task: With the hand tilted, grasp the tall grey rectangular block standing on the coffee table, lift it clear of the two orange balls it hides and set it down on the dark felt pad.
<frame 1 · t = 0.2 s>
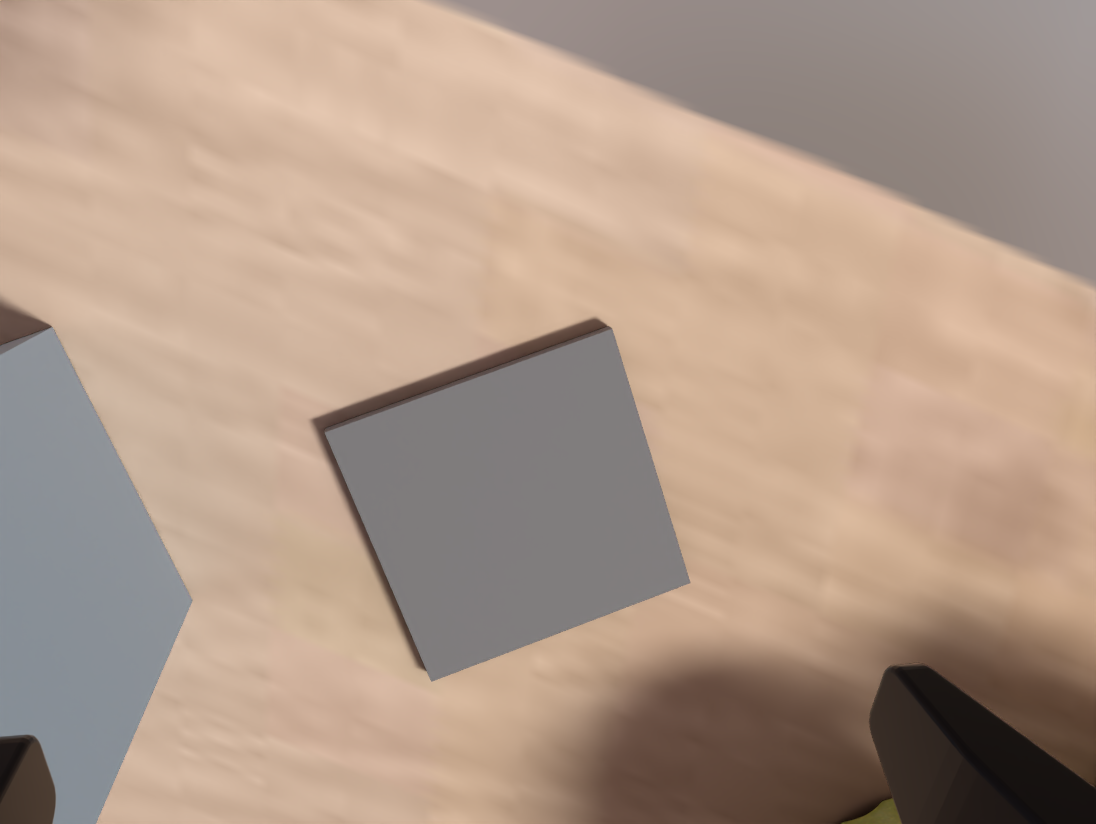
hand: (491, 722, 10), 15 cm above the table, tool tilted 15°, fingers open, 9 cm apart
pad: (516, 506, 26), on the table
grey rectangular block: (20, 508, 24), on the table
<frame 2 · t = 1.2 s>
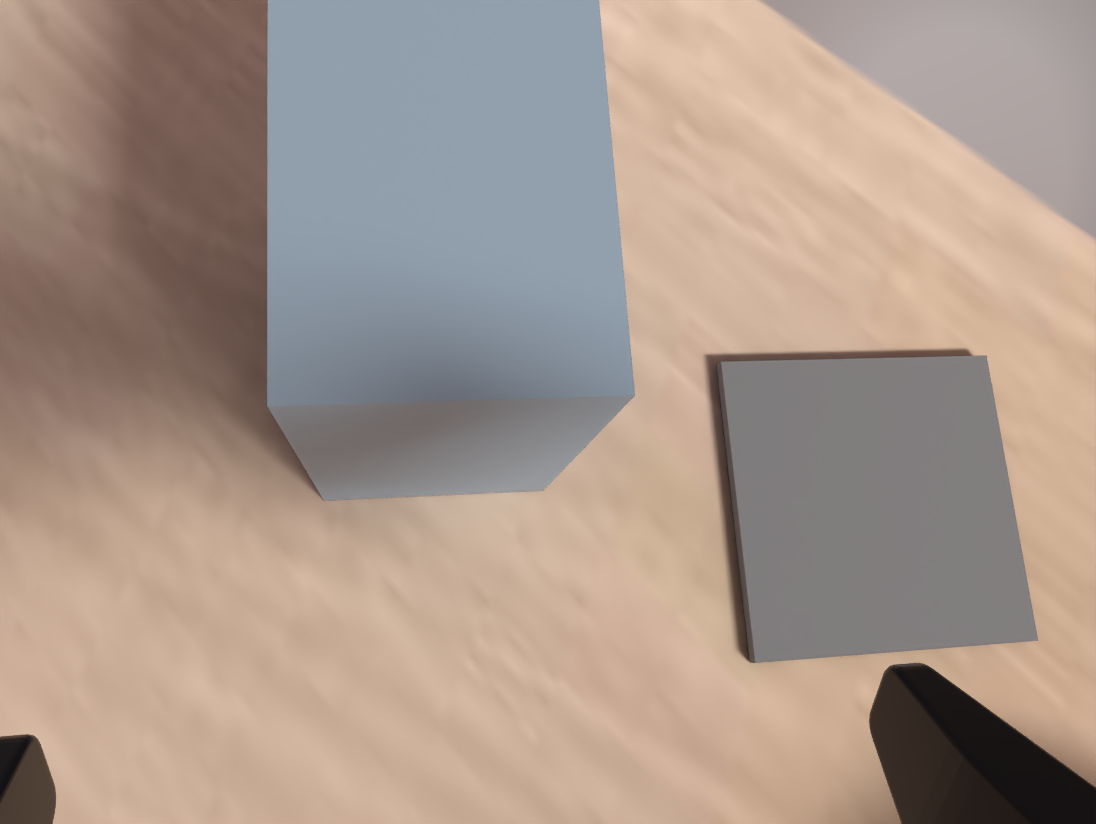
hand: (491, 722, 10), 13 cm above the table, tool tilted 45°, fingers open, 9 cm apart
pad: (870, 501, 25), on the table
grey rectangular block: (429, 346, 25), on the table
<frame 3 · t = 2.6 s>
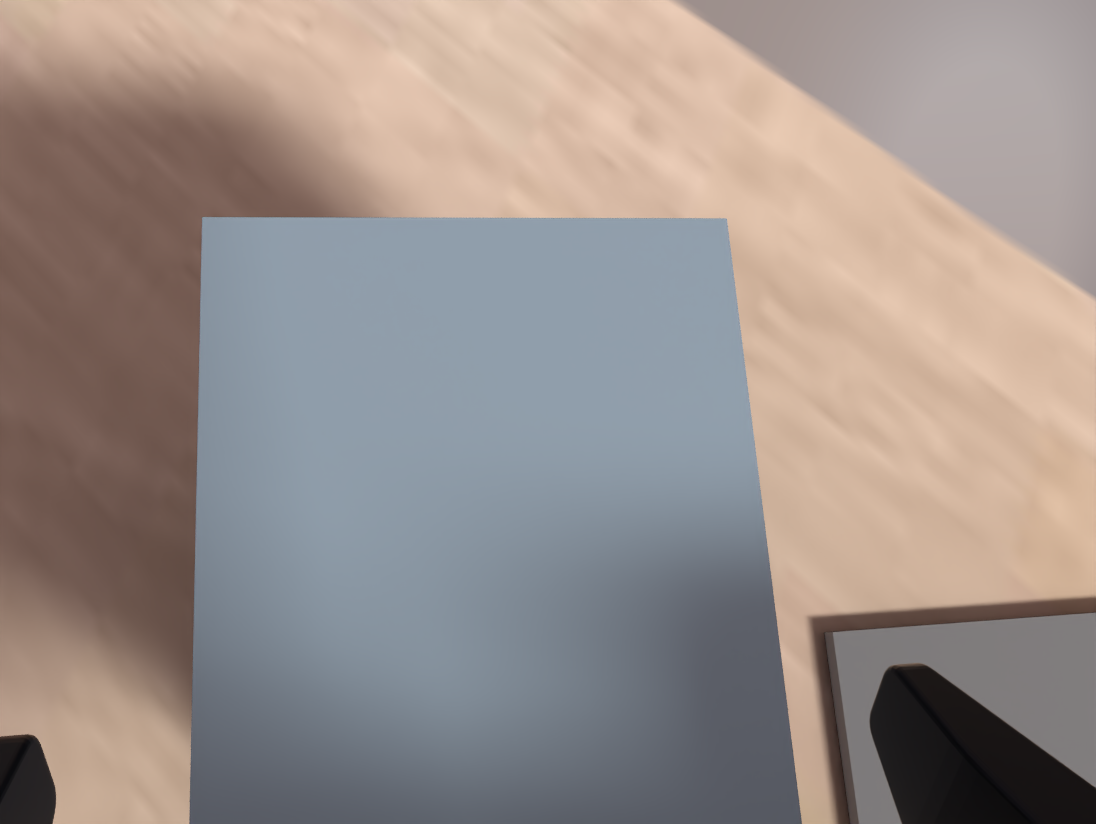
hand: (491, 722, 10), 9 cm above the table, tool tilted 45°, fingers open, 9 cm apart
pad: (1030, 815, 19), on the table
grey rectangular block: (449, 622, 19), on the table
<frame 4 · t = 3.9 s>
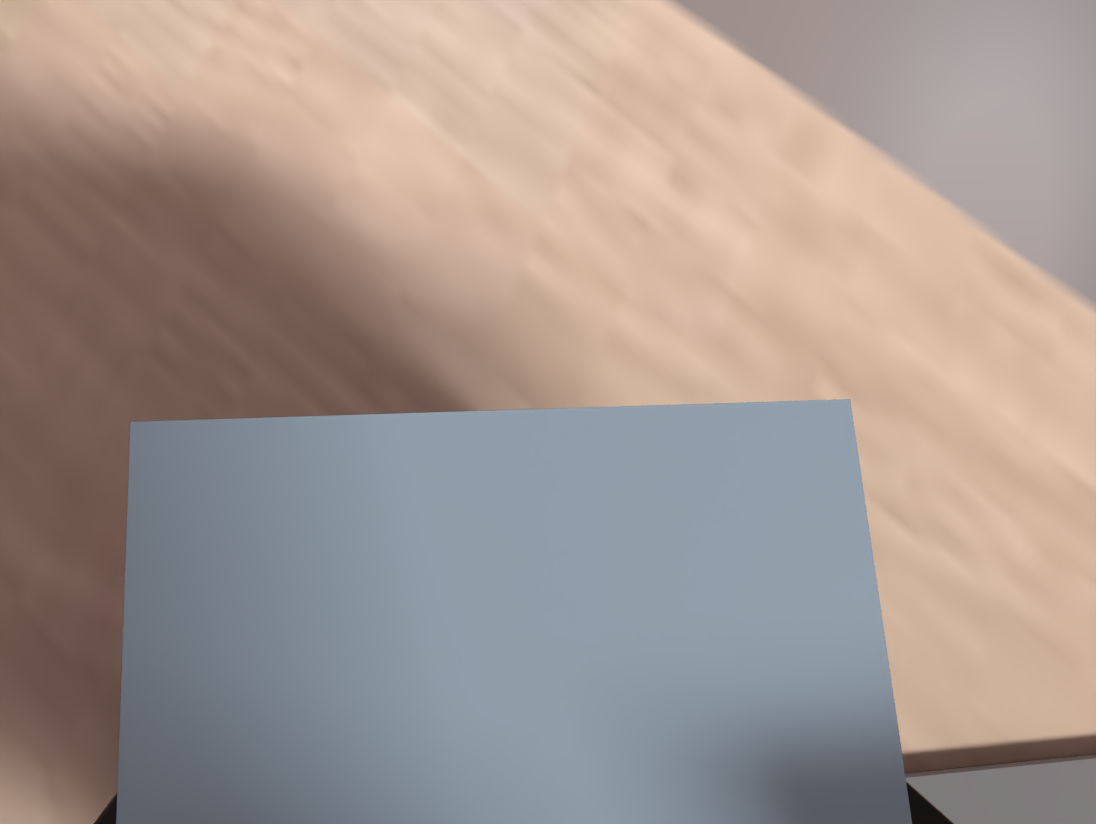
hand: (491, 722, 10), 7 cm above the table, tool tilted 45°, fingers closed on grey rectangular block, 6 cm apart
grey rectangular block: (461, 772, 16), on the table, touching gripper
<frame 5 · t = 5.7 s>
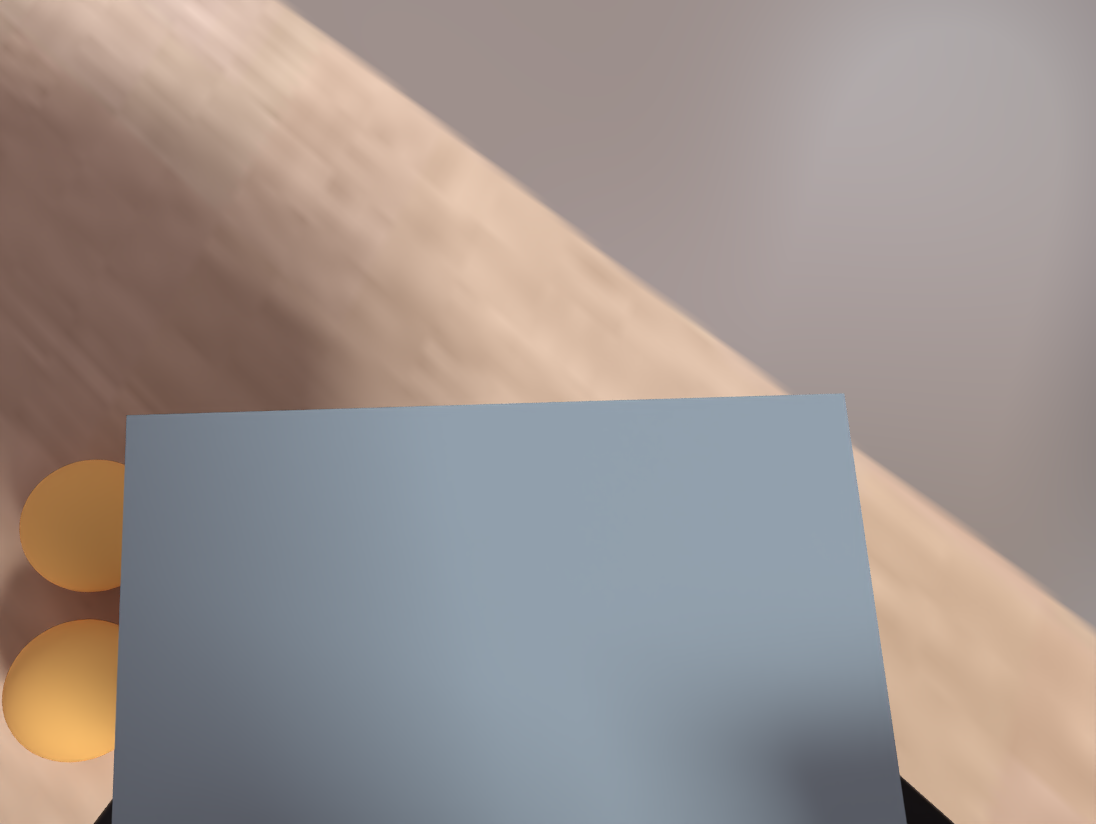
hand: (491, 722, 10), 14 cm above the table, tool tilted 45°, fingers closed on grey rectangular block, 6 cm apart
ball a: (114, 532, 23), on the table
grey rectangular block: (458, 770, 16), point 7 cm above the table, touching gripper
ball b: (102, 685, 22), on the table
when the fingers open (9 cm above the table, at t = 7.3 s): grey rectangular block drops 2 cm, resting on pad.
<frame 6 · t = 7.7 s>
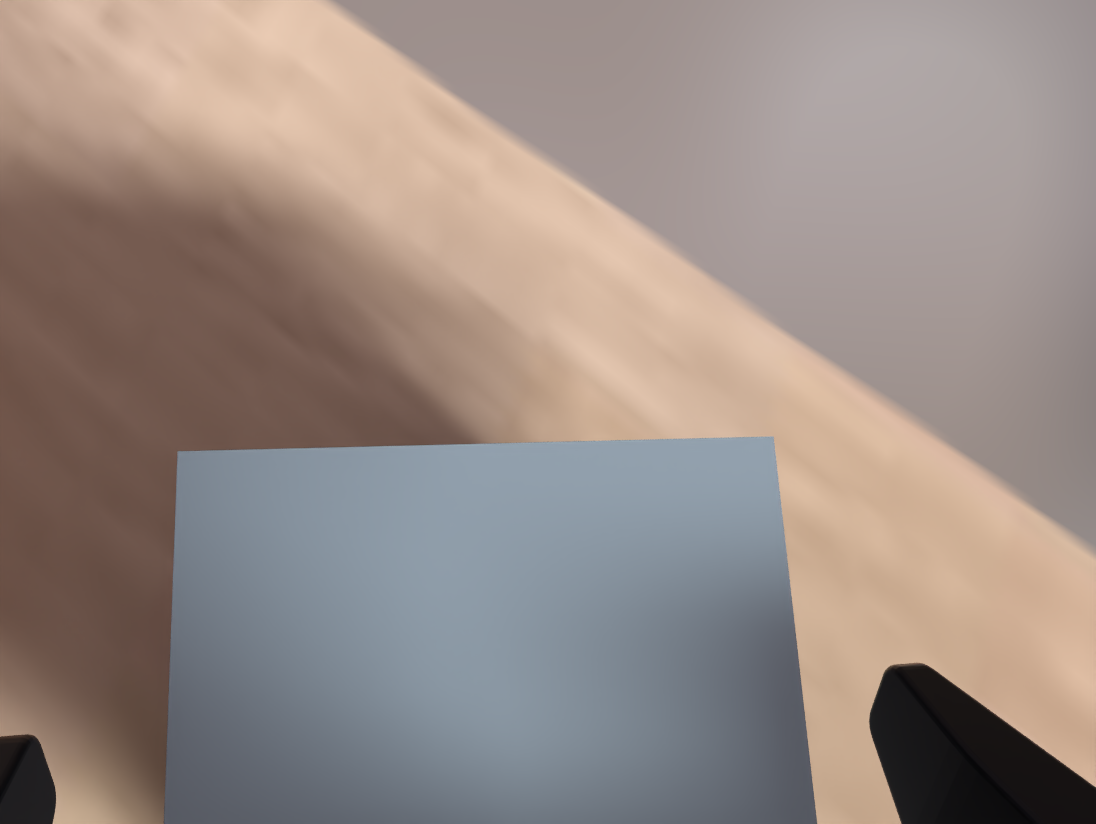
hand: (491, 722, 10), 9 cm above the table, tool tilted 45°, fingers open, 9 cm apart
grey rectangular block: (452, 757, 17), resting on pad
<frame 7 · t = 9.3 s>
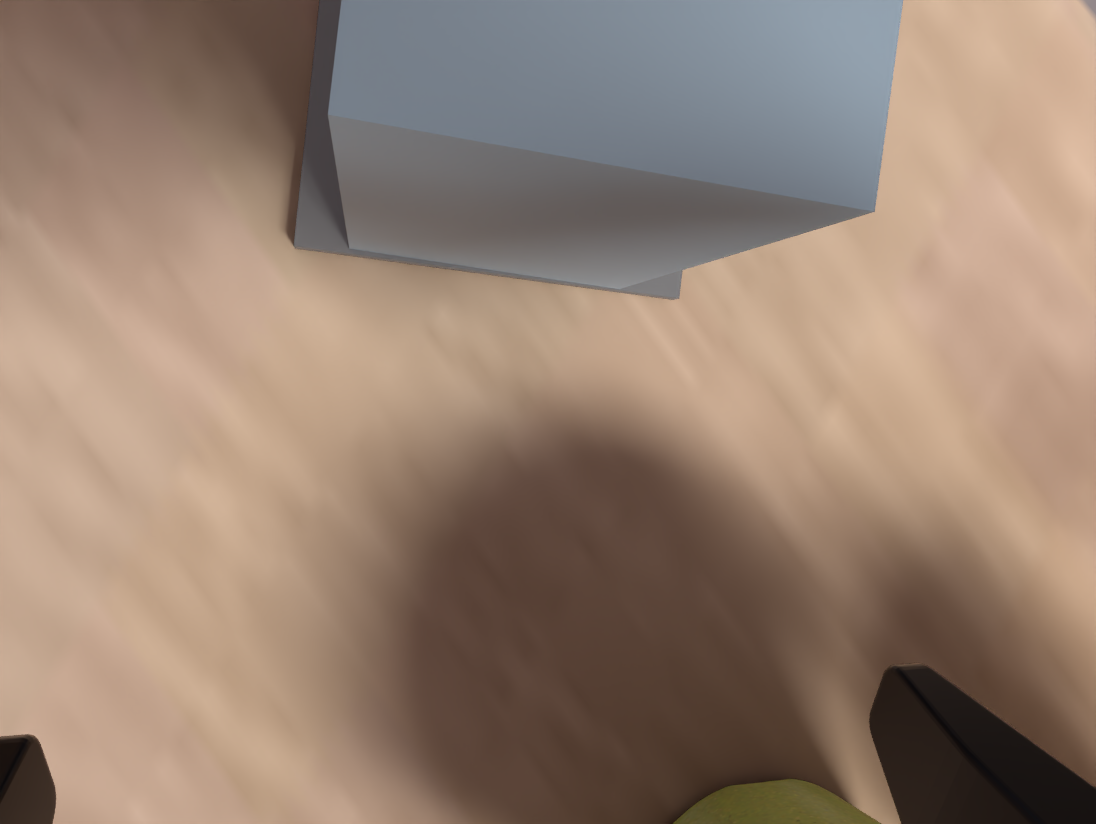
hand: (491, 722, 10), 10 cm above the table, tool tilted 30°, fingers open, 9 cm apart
pad: (513, 83, 19), on the table
grey rectangular block: (512, 73, 19), resting on pad
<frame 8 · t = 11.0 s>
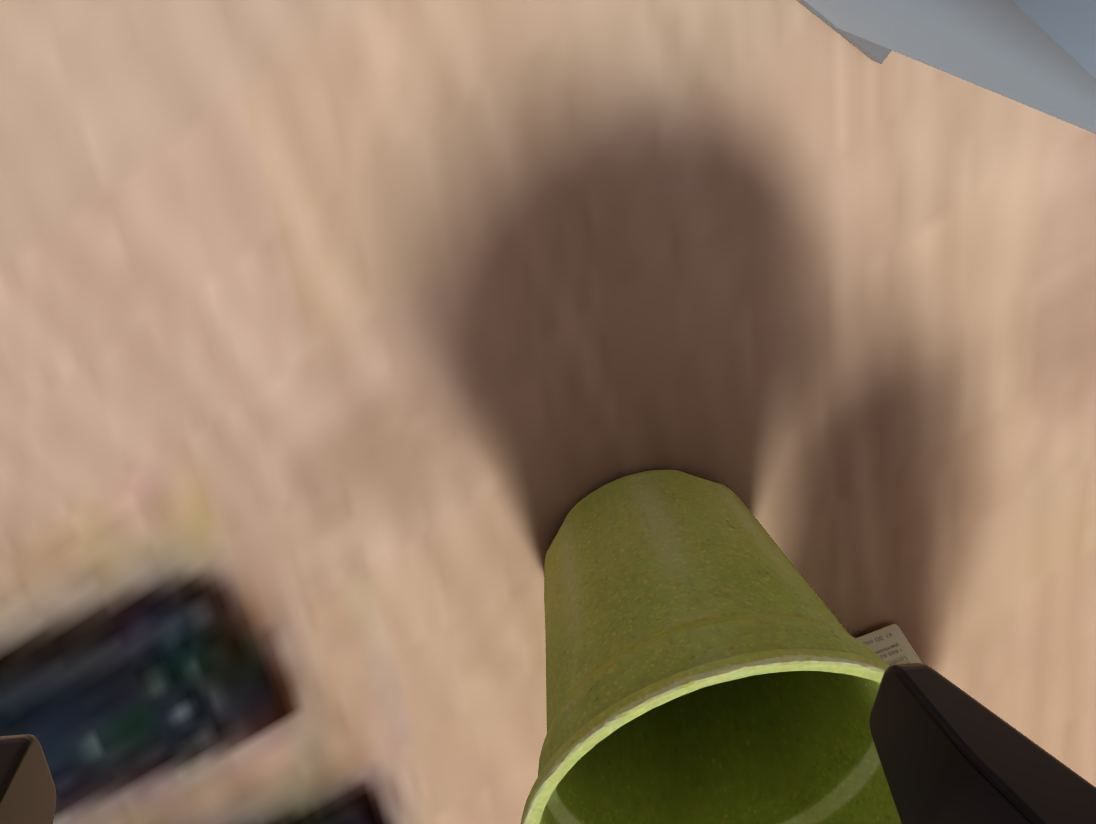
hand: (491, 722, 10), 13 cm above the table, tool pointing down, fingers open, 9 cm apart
skincare box: (848, 694, 32), on the table
plant pot: (643, 548, 27), on the table
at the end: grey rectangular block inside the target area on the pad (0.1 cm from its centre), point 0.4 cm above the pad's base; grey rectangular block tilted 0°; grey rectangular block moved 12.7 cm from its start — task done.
